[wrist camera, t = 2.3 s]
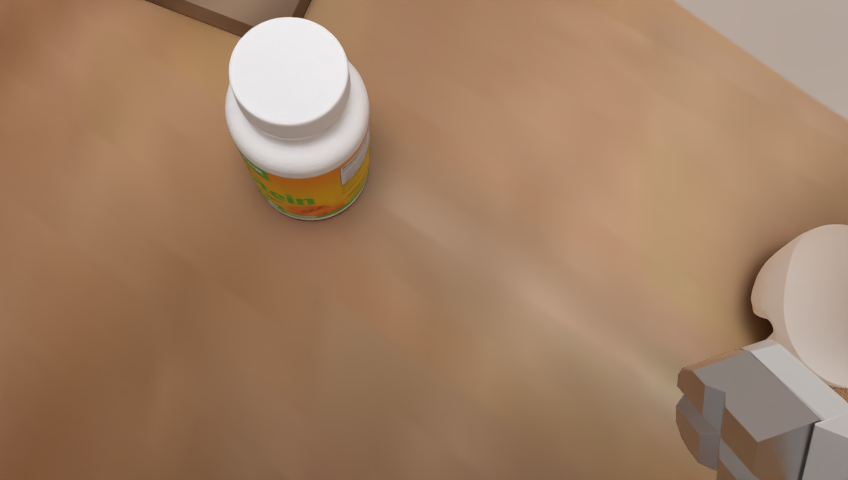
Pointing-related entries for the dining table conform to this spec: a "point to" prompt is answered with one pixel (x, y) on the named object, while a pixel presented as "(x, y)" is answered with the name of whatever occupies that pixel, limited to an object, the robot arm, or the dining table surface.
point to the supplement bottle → (299, 117)
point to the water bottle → (809, 300)
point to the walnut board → (236, 11)
